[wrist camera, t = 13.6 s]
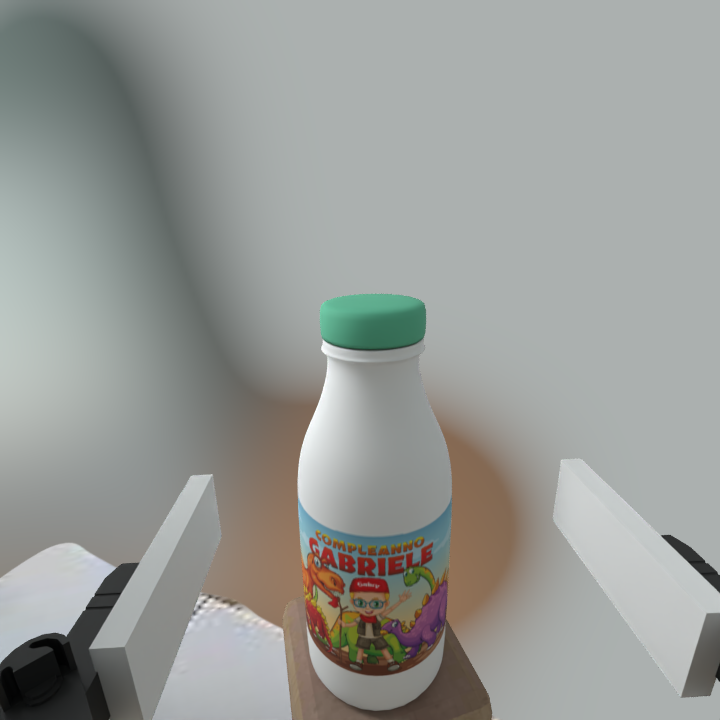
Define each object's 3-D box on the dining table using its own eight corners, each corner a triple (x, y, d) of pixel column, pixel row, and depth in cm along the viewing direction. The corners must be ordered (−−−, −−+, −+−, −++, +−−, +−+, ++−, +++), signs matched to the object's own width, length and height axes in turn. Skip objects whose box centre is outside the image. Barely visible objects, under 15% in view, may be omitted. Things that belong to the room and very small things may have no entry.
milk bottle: (306, 597, 27) (283, 290, 21) (420, 580, 28) (430, 284, 22) (312, 732, 20) (279, 324, 14) (465, 702, 21) (498, 313, 15)
